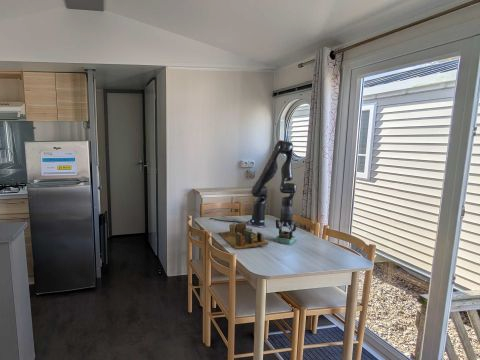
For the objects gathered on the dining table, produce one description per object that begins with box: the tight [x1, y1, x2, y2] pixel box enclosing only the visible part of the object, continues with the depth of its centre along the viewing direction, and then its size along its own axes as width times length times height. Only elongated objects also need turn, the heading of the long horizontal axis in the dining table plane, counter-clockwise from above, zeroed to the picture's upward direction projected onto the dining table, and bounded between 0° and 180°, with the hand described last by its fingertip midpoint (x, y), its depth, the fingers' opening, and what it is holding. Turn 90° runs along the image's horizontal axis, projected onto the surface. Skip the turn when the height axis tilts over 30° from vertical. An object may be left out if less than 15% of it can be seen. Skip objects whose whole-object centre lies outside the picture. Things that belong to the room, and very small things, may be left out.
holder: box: [275, 235, 296, 245], centre depth 205 cm, size 11×9×3 cm
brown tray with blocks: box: [218, 222, 269, 250], centre depth 207 cm, size 35×24×15 cm
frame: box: [278, 230, 290, 239], centre depth 205 cm, size 8×6×3 cm
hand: (285, 235), depth 205 cm, fingers closed on frame, 6 cm apart
